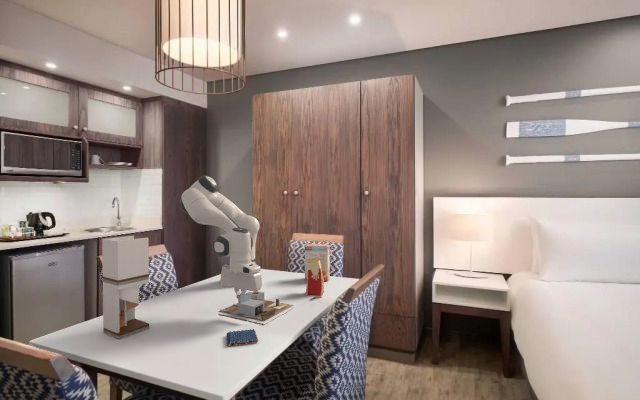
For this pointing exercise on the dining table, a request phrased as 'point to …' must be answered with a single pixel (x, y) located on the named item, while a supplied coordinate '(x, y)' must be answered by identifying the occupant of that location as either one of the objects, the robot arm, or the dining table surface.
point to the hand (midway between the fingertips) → (240, 298)
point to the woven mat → (241, 337)
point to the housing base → (269, 311)
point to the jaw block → (257, 295)
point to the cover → (249, 304)
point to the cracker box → (324, 254)
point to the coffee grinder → (123, 284)
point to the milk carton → (315, 278)
